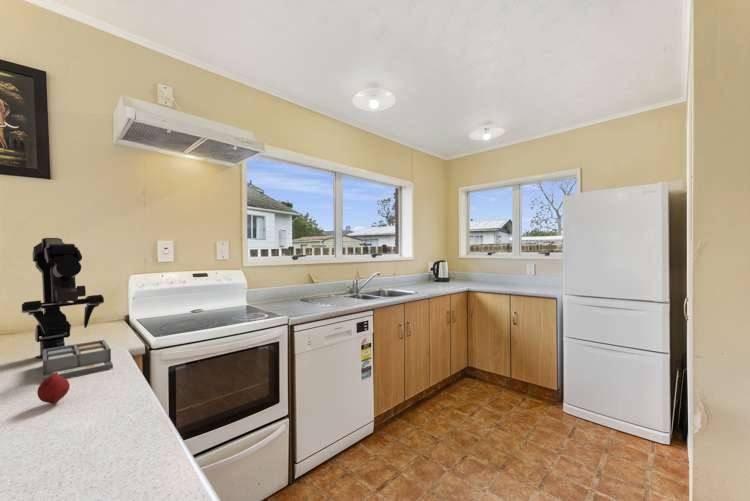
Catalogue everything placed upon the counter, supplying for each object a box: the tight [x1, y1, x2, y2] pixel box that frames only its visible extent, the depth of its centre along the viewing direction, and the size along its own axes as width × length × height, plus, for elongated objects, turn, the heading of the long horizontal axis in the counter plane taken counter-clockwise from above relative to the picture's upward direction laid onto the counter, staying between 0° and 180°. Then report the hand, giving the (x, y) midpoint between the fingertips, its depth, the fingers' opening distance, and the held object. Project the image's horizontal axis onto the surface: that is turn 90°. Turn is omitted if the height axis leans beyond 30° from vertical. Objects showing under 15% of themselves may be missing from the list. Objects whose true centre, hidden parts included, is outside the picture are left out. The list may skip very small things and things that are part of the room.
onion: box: [36, 372, 70, 405], centre depth 84 cm, size 6×6×8 cm
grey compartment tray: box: [42, 339, 114, 381], centre depth 109 cm, size 20×16×6 cm
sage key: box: [48, 353, 74, 360], centre depth 105 cm, size 6×6×2 cm
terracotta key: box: [78, 343, 101, 349], centre depth 116 cm, size 6×6×2 cm
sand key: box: [80, 348, 104, 354], centre depth 111 cm, size 6×6×2 cm
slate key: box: [48, 348, 73, 354], centre depth 111 cm, size 6×6×2 cm
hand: (66, 330), depth 104 cm, fingers open, 9 cm apart
